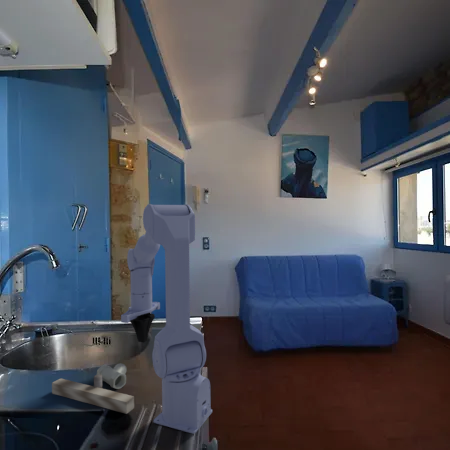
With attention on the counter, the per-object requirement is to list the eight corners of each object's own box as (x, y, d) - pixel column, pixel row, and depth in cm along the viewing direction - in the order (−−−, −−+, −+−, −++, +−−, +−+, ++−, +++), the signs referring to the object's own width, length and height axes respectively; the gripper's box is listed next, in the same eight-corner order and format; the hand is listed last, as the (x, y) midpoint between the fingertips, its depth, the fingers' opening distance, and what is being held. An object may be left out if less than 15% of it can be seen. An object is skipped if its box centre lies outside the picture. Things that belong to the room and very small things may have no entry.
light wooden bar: (139, 403, 73) (139, 383, 73) (126, 413, 69) (126, 392, 69) (67, 385, 82) (66, 367, 82) (52, 393, 78) (51, 374, 78)
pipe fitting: (120, 374, 89) (96, 381, 83) (121, 359, 89) (97, 365, 84) (137, 383, 83) (113, 392, 78) (138, 367, 83) (114, 375, 78)
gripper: (145, 286, 99) (146, 331, 100) (111, 297, 86) (112, 348, 86) (165, 287, 97) (166, 334, 97) (133, 299, 83) (134, 352, 84)
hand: (142, 341), depth 91 cm, fingers closed
